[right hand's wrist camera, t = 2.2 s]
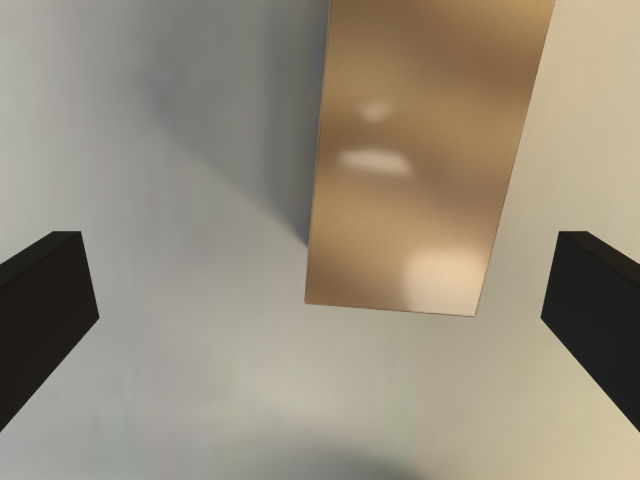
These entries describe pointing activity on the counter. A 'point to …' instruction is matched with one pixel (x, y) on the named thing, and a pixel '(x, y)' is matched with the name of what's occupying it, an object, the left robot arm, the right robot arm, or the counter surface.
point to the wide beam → (417, 148)
